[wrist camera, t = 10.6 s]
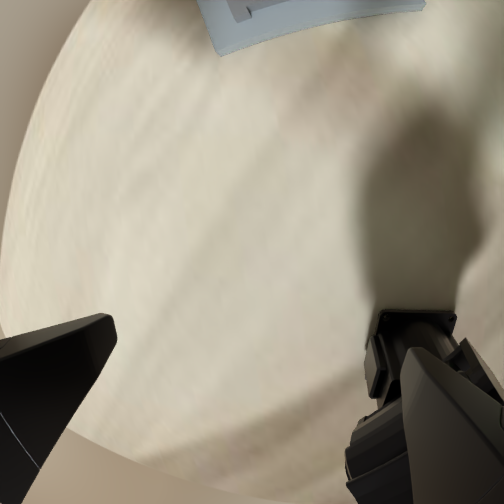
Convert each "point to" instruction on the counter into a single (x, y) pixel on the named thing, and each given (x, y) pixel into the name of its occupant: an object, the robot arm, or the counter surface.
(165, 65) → the counter surface
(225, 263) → the counter surface
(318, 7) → the base plate
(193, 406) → the counter surface
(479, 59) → the counter surface
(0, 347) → the robot arm
